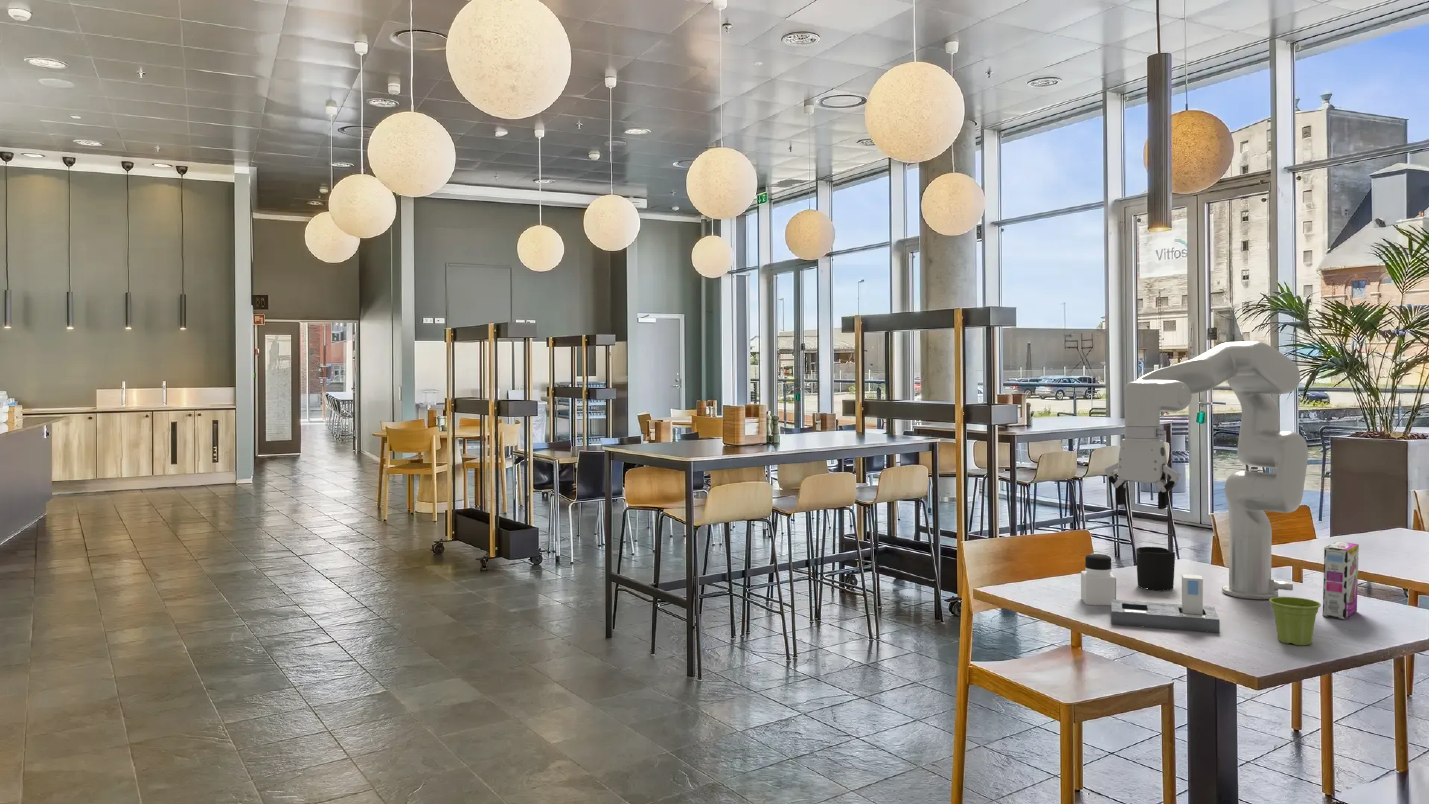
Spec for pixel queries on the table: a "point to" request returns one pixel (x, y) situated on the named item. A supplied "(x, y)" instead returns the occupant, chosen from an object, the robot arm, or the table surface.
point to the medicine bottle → (1098, 580)
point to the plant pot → (1294, 619)
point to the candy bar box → (1340, 580)
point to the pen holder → (1155, 568)
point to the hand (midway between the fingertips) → (1141, 506)
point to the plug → (1192, 594)
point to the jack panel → (1163, 616)
